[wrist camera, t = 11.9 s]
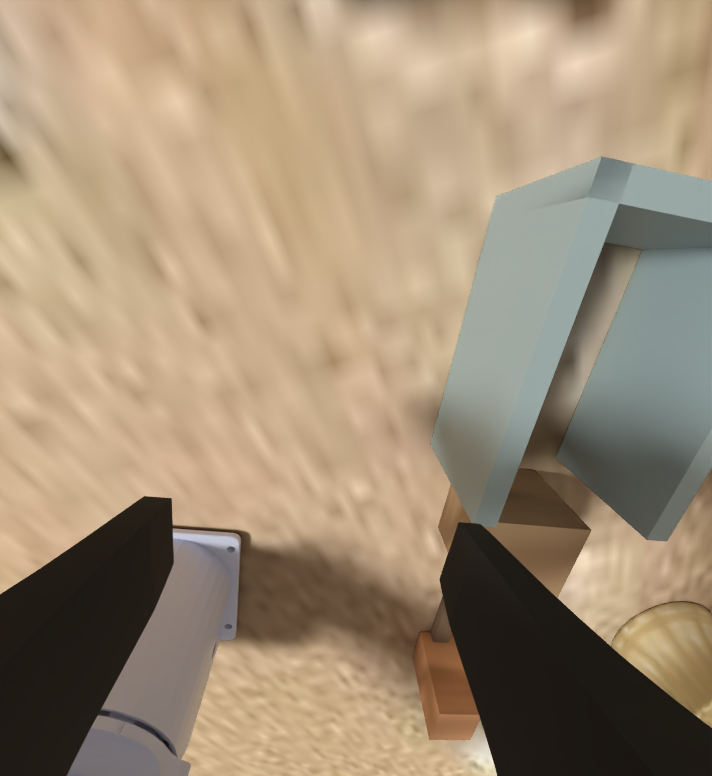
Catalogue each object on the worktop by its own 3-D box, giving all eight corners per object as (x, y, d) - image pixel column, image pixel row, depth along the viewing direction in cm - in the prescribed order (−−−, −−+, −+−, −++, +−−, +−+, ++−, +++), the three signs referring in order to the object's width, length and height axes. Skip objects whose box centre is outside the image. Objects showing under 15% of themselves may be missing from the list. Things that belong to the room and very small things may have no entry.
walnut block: (459, 657, 27) (485, 739, 23) (399, 655, 27) (413, 739, 22) (534, 470, 21) (591, 530, 16) (457, 462, 21) (494, 522, 16)
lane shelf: (570, 459, 21) (667, 541, 15) (430, 444, 20) (472, 525, 14) (670, 231, 16) (866, 215, 10) (496, 196, 15) (601, 156, 9)
